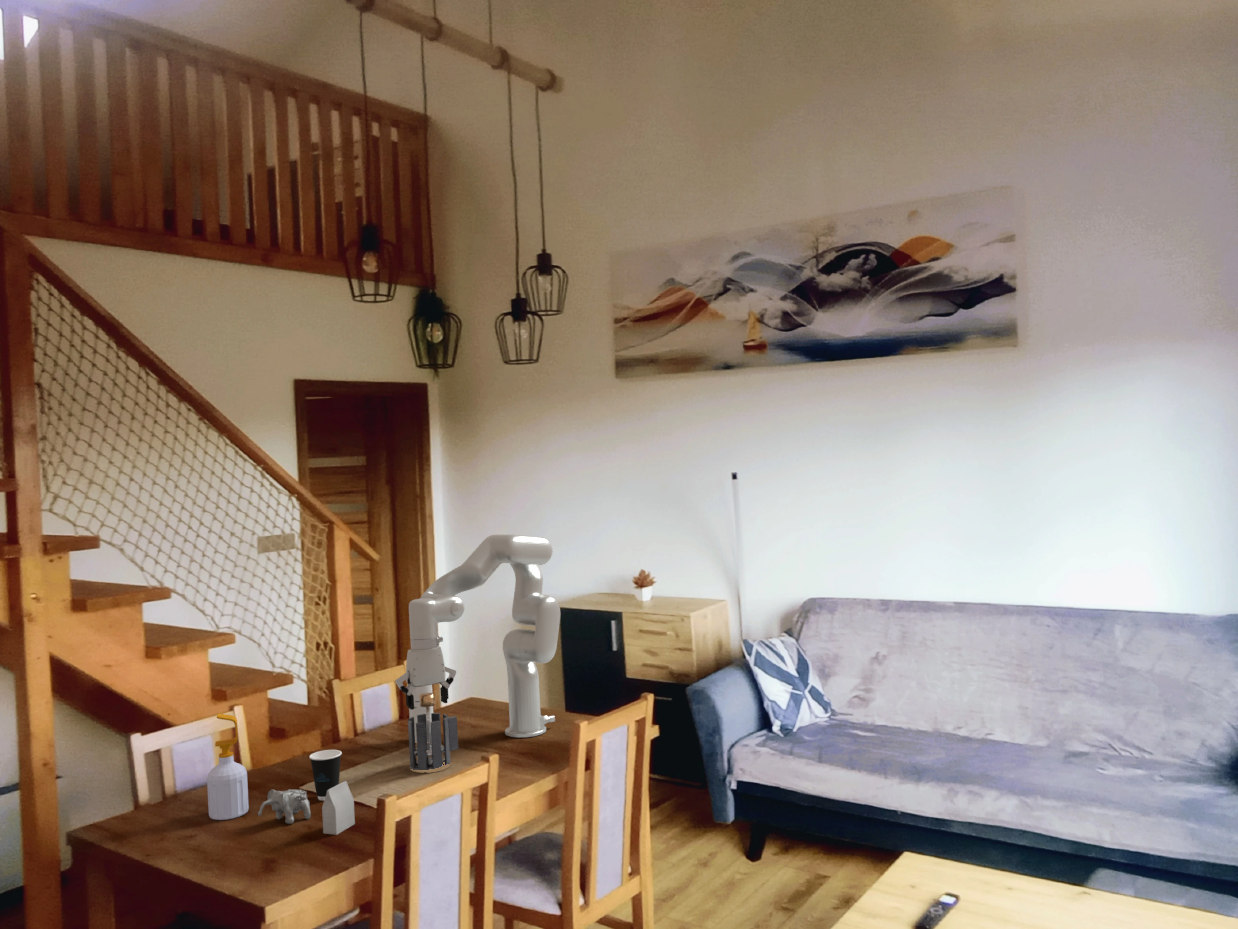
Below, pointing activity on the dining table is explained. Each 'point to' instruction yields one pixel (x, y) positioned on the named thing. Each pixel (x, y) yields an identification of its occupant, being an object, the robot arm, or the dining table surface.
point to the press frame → (432, 741)
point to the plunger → (428, 719)
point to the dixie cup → (325, 770)
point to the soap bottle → (227, 782)
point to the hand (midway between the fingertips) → (427, 705)
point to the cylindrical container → (417, 708)
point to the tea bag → (338, 809)
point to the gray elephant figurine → (287, 803)
